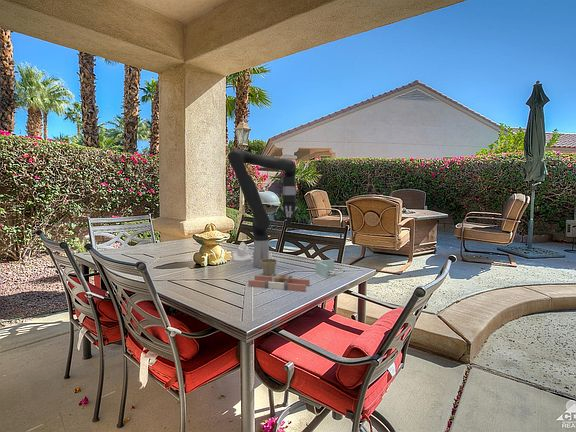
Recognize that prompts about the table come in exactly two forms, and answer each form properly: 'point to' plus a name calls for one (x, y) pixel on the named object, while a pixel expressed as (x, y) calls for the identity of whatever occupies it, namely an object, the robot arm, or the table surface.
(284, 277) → the walnut block
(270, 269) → the flower pot
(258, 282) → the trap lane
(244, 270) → the table surface
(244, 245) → the citrus juicer
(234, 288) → the table surface
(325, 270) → the right angle wall
